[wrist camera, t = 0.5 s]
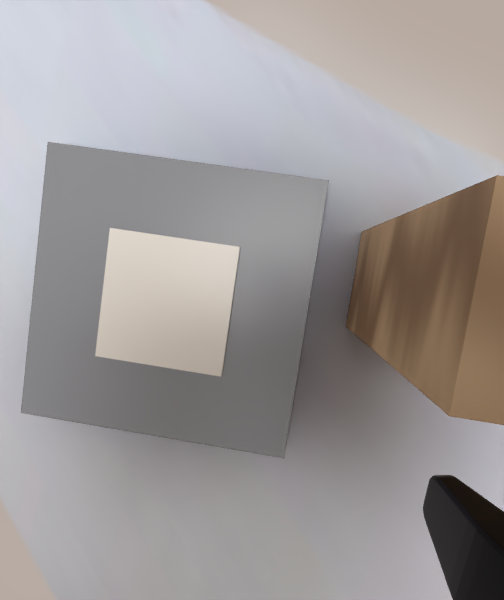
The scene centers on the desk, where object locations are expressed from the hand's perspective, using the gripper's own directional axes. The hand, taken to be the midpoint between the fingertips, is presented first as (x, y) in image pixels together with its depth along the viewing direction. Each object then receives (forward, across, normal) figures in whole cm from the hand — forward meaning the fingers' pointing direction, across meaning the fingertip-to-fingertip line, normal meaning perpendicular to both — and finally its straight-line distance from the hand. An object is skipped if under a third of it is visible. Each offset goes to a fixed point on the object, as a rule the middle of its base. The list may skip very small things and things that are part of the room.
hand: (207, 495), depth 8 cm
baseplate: (+15, +2, +1) cm, 15 cm away
